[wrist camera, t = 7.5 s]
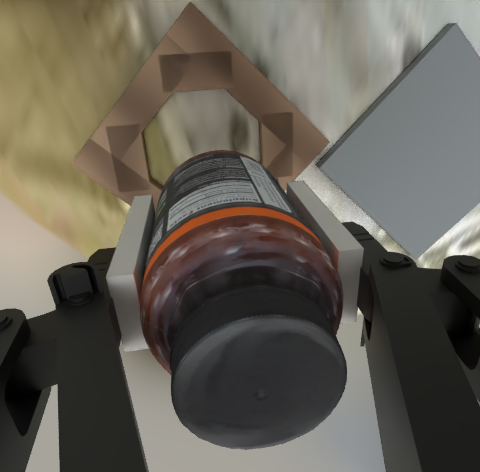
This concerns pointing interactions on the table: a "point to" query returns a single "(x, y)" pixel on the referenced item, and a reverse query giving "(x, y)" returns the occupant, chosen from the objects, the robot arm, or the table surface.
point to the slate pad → (417, 146)
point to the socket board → (189, 79)
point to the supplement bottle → (241, 305)
